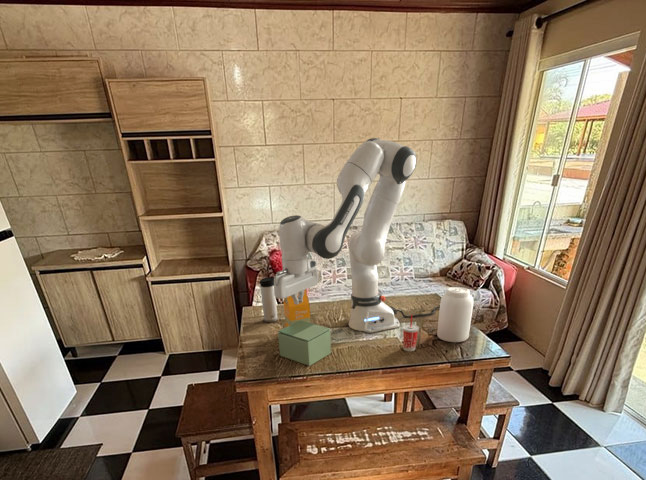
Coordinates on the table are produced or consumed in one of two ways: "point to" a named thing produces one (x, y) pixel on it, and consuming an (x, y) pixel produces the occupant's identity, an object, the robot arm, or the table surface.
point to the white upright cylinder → (455, 315)
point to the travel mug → (268, 299)
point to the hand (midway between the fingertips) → (298, 303)
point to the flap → (296, 328)
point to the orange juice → (296, 310)
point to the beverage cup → (410, 336)
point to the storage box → (306, 345)
